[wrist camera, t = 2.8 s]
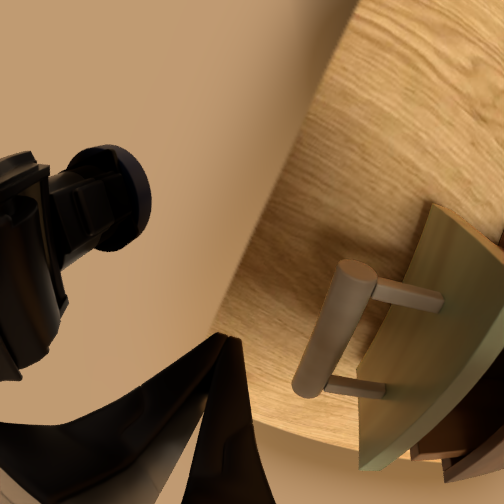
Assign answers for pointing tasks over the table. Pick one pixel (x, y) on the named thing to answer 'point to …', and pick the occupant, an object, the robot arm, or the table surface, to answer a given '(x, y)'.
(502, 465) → the cabinet
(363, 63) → the table surface
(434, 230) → the drawer
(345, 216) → the table surface
